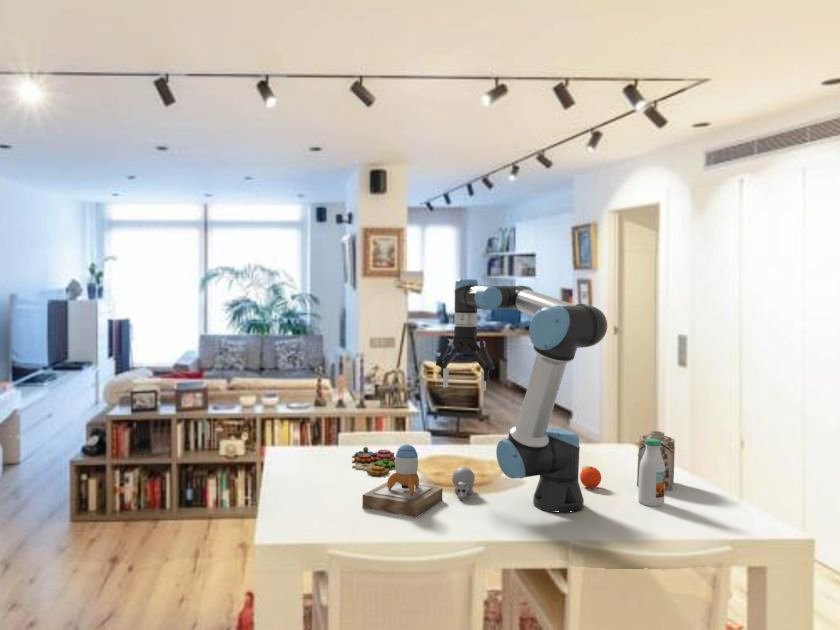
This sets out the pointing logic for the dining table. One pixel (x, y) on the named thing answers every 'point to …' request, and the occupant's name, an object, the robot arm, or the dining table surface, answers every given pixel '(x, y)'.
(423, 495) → the plinth
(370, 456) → the gear puzzle
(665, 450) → the decorative jar
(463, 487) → the round bodied animal figurine
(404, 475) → the toy rocket
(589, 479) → the clementine
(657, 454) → the milk bottle
